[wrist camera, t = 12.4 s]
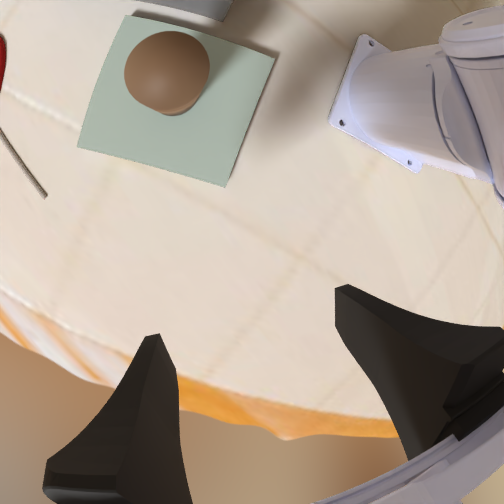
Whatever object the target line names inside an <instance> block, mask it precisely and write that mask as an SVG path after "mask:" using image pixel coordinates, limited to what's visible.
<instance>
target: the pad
mask: <svg viewBox="0 0 504 504" xmlns="http://www.w3.org/2000/svg"><path fill="white" fill-rule="evenodd" d="M163 31H179V32H183V33H186V34H189V35H191V36H193V37H194V38H196V39H197V40H198V41H199V42H200V43H201V44H202V45H203V46H204V48H205V50H206V51H207V54H208V57H209V61H210V71H209V76H208V79H207V82H206V84H205V86H204V88H203V89H202V91H201V93H200V95H199V97H198V99H197V101H196V103H195V105H194V106H193V107H192V108H191V109H190V110H189V111H188V112H186V113H184V114H182V115H178V116H166V115H163V114H161V113H159V112H157V111H155V110H153V109H151V108H149V107H147V106H145V105H143V104H141V103H139V102H138V101H137V100H135V99H134V98H133V97H132V95H131V94H130V93H129V91H128V89H127V87H126V84H125V80H124V68H125V64H126V61H127V58H128V56H129V54H130V53H131V51H132V50H133V49H134V48H135V46H136V45H137V44H138V43H140V42H141V41H142V40H144V39H145V38H147V37H149V36H150V35H153V34H155V33H159V32H163ZM274 61H275V59H274V58H272V57H269V56H267V55H264V54H262V53H259V52H257V51H254V50H252V49H249V48H246V47H244V46H241V45H238V44H235V43H232V42H230V41H227V40H224V39H221V38H218V37H215V36H211V35H208V34H205V33H202V32H198V31H195V30H191V29H187V28H184V27H180V26H176V25H172V24H168V23H164V22H159V21H155V20H150V19H145V18H140V17H134V16H129V15H125V17H124V19H123V21H122V23H121V26H120V28H119V30H118V32H117V34H116V36H115V38H114V41H113V43H112V45H111V47H110V50H109V52H108V54H107V57H106V59H105V62H104V64H103V67H102V69H101V72H100V74H99V77H98V80H97V83H96V85H95V88H94V91H93V94H92V97H91V100H90V103H89V106H88V109H87V112H86V116H85V119H84V122H83V126H82V129H81V133H80V136H79V140H78V144H77V147H78V148H83V149H87V150H91V151H95V152H99V153H103V154H107V155H111V156H115V157H119V158H123V159H127V160H131V161H134V162H138V163H142V164H146V165H149V166H153V167H156V168H160V169H164V170H167V171H171V172H174V173H178V174H181V175H185V176H188V177H191V178H195V179H198V180H202V181H205V182H208V183H211V184H215V185H218V186H221V187H224V188H225V187H226V184H227V182H228V179H229V176H230V173H231V171H232V168H233V165H234V162H235V160H236V157H237V154H238V152H239V149H240V146H241V144H242V141H243V138H244V136H245V133H246V130H247V128H248V125H249V123H250V120H251V118H252V115H253V112H254V110H255V107H256V105H257V102H258V100H259V97H260V95H261V92H262V90H263V87H264V85H265V83H266V80H267V78H268V75H269V73H270V70H271V68H272V66H273V63H274Z"/></svg>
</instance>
